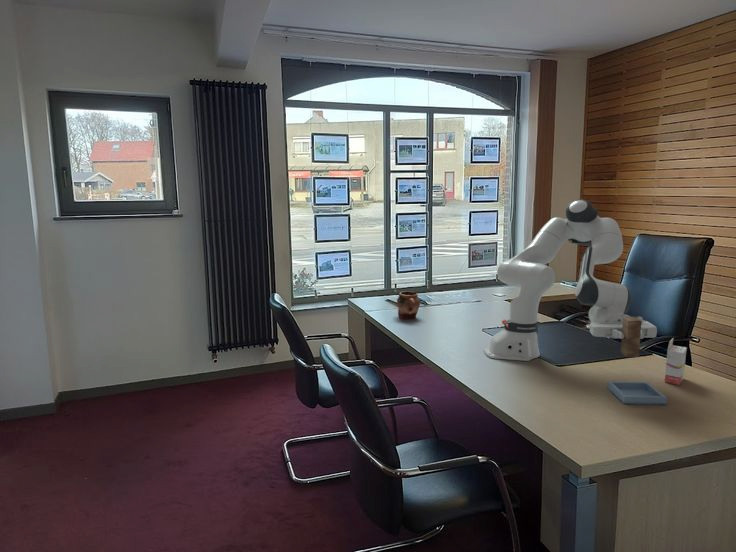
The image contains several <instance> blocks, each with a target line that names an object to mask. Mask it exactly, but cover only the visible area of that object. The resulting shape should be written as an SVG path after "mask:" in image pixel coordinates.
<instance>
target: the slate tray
mask: <svg viewBox="0 0 736 552" xmlns="http://www.w3.org/2000/svg"><path fill="white" fill-rule="evenodd" d="M606 387H607V390H608V391H609V392H611V393H610V394H612V395H613V396H614V397H616V398H617V399H618V400H619V402H621V403H622V404H623V405H644V406H645V405H649V406H653V405H654V406H666V405H667V400H668V397H667V396H666V395H664V394H663V393H662V392H660V391H659V390H658V389H657V388H655V387H654V386H653V385H651V383H650V382H648V381H607V386H606Z"/></svg>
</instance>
